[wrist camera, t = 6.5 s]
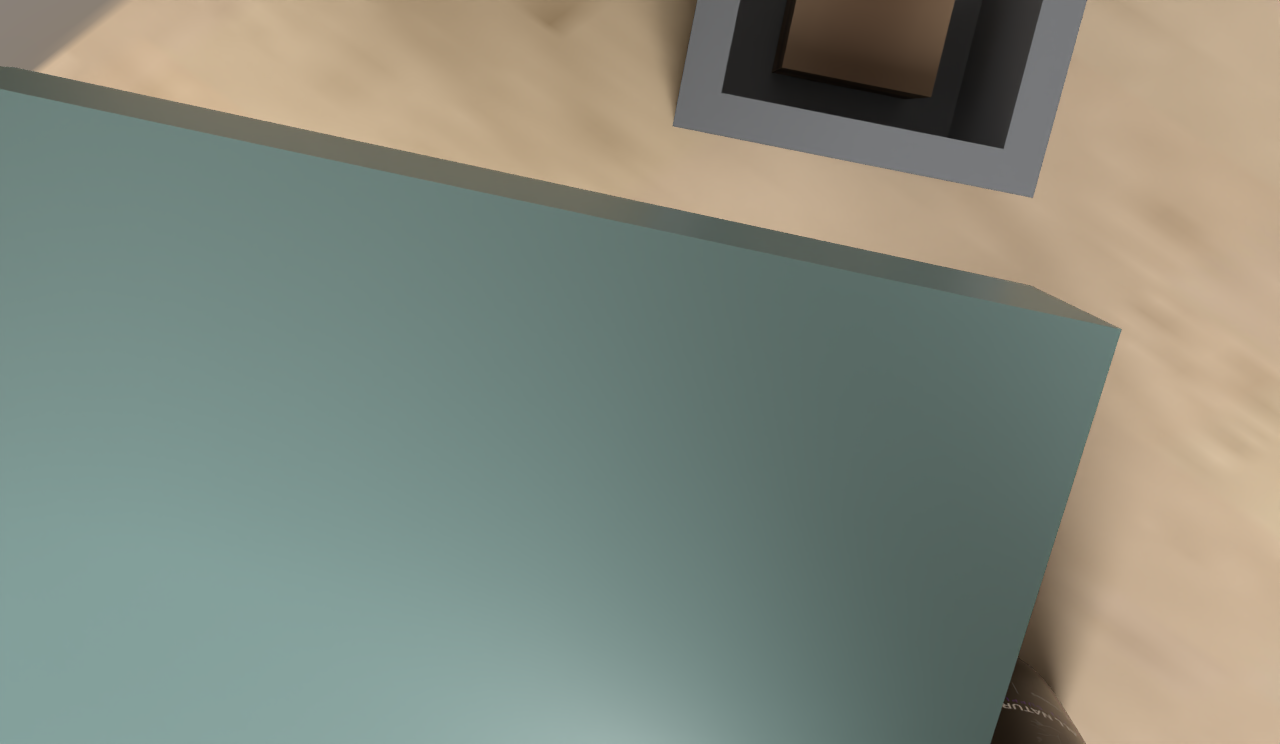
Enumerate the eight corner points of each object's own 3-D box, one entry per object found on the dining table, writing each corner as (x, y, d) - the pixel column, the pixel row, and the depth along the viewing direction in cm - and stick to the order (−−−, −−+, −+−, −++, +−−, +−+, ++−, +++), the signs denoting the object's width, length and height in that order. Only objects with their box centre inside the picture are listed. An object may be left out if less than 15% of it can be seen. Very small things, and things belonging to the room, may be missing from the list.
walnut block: (939, -43, 32) (970, -62, 28) (905, 99, 33) (930, 97, 29) (802, -71, 32) (816, -93, 28) (771, 72, 32) (782, 67, 29)
